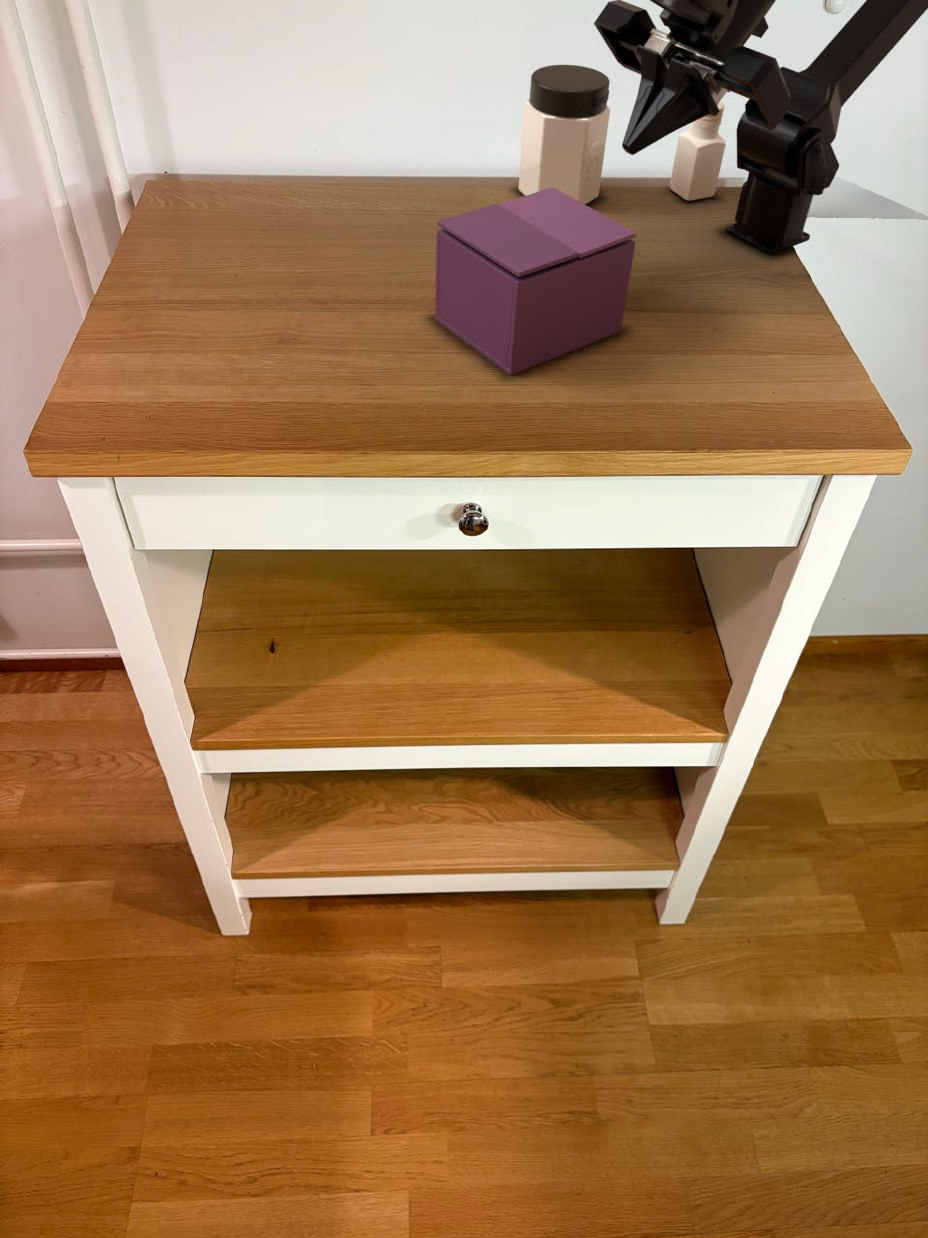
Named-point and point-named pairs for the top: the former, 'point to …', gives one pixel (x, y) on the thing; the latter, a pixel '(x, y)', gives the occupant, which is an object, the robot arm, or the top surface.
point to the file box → (525, 288)
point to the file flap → (569, 221)
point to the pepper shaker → (699, 158)
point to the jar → (565, 131)
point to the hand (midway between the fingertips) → (626, 150)
